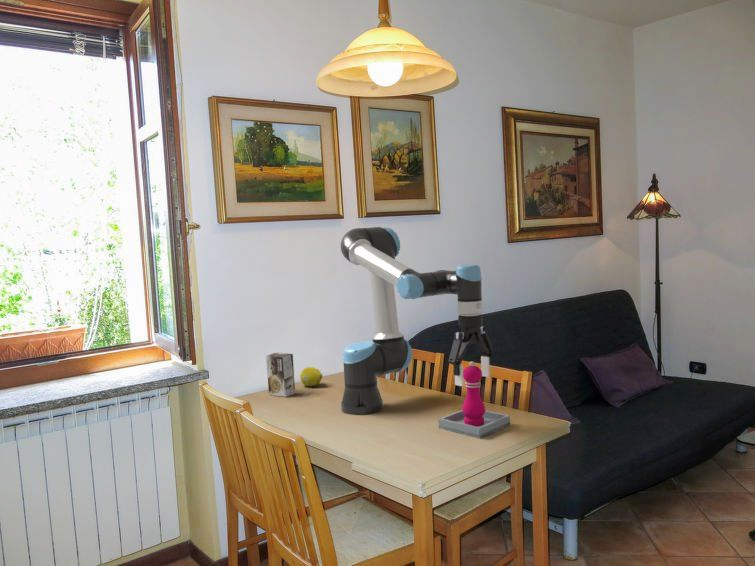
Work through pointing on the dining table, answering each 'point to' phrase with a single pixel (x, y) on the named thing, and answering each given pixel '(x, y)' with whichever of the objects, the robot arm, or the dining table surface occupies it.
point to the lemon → (310, 376)
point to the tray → (490, 425)
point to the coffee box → (280, 374)
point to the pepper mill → (473, 396)
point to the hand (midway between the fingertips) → (472, 381)
